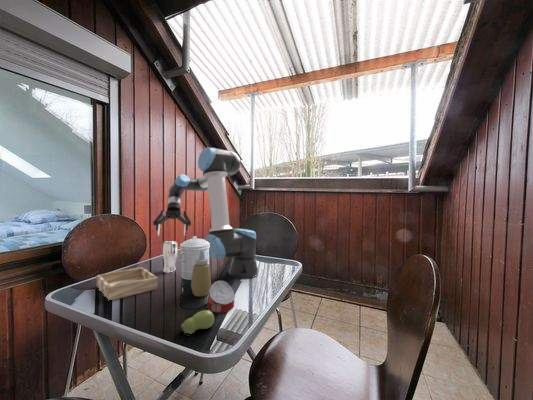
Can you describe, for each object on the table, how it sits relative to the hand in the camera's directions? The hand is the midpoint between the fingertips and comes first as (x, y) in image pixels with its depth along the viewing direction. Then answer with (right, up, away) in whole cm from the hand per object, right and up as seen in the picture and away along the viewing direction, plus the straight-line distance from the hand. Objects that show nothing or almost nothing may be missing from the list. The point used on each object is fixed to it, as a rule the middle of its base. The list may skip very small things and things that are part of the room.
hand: (171, 235), depth 137 cm
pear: (+31, -21, -61) cm, 71 cm away
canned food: (+36, -20, -45) cm, 61 cm away
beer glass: (+2, -18, -9) cm, 20 cm away
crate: (-6, -18, -32) cm, 37 cm away
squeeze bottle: (+26, -19, -35) cm, 48 cm away
